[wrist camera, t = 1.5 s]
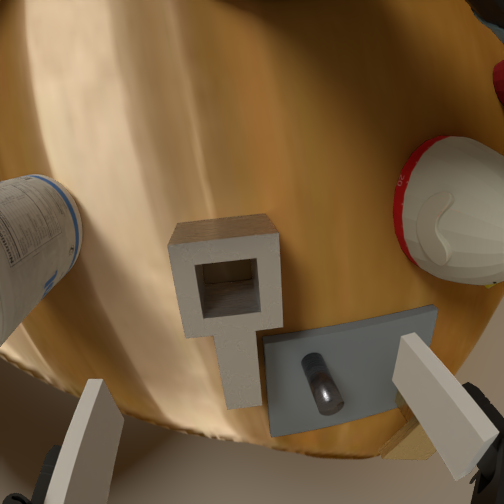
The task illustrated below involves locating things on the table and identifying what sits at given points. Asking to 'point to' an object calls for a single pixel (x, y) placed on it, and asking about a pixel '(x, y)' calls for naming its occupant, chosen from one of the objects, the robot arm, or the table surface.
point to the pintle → (322, 384)
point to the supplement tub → (34, 244)
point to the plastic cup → (499, 80)
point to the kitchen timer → (453, 210)
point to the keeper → (408, 438)
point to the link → (229, 295)
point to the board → (339, 368)
